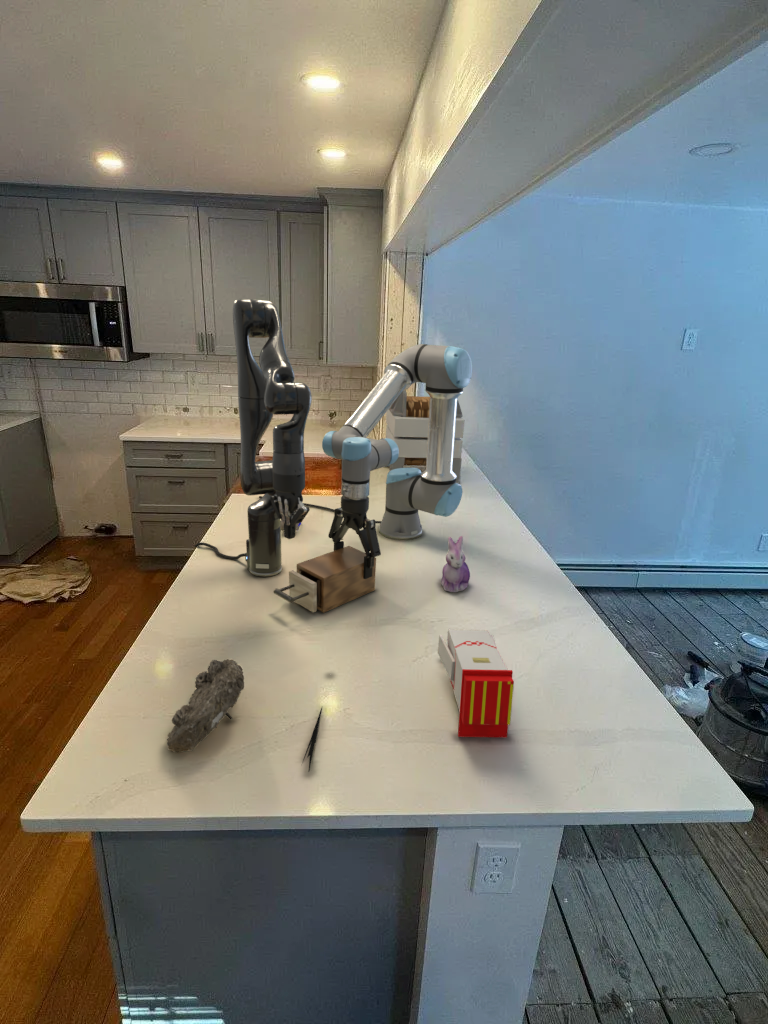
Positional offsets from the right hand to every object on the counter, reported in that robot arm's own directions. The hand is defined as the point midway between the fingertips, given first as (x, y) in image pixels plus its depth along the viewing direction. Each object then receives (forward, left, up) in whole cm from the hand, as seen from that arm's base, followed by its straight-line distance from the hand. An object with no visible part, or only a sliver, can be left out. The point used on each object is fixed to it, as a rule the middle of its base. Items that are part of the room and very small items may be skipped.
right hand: (352, 570), depth 159 cm
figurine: (+17, +24, -5) cm, 30 cm away
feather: (+40, -38, -5) cm, 55 cm away
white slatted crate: (-75, +99, -5) cm, 124 cm away
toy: (+52, -9, -5) cm, 53 cm away
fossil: (+27, -54, -5) cm, 61 cm away
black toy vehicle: (-47, +9, -5) cm, 48 cm away
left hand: (+2, -22, +16) cm, 27 cm away
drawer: (+1, -13, -4) cm, 13 cm away
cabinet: (+1, -6, -5) cm, 8 cm away
